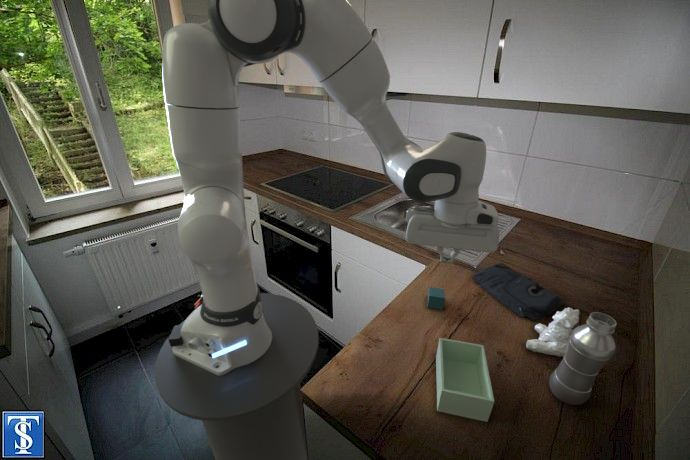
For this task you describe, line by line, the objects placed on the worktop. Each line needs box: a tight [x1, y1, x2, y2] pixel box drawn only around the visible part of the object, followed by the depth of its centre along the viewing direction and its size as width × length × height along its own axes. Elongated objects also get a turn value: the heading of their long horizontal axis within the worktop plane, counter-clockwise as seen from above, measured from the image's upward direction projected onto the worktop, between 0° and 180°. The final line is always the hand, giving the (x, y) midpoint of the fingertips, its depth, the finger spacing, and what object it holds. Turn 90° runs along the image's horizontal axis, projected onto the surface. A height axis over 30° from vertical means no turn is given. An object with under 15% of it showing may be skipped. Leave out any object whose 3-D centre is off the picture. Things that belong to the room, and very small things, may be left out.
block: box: [426, 286, 446, 310], centre depth 86 cm, size 4×4×4 cm
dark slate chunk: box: [471, 262, 565, 321], centre depth 91 cm, size 15×22×5 cm
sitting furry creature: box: [525, 306, 580, 358], centre depth 71 cm, size 10×9×12 cm
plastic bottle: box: [548, 311, 617, 406], centre depth 58 cm, size 6×7×20 cm
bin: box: [435, 337, 496, 423], centre depth 63 cm, size 6×13×9 cm
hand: (446, 261), depth 75 cm, fingers closed
